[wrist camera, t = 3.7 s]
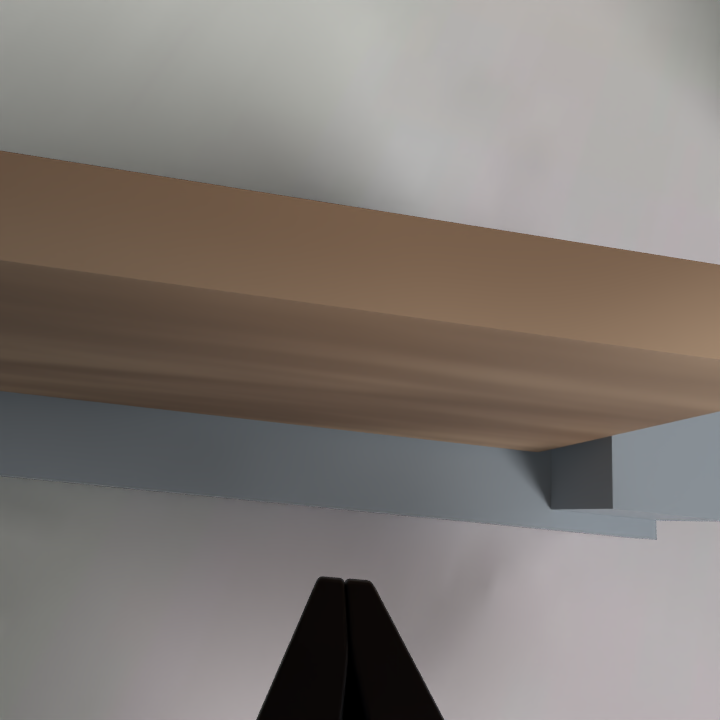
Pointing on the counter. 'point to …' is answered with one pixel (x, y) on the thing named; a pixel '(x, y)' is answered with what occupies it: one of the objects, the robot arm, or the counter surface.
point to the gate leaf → (340, 314)
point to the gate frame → (371, 466)
